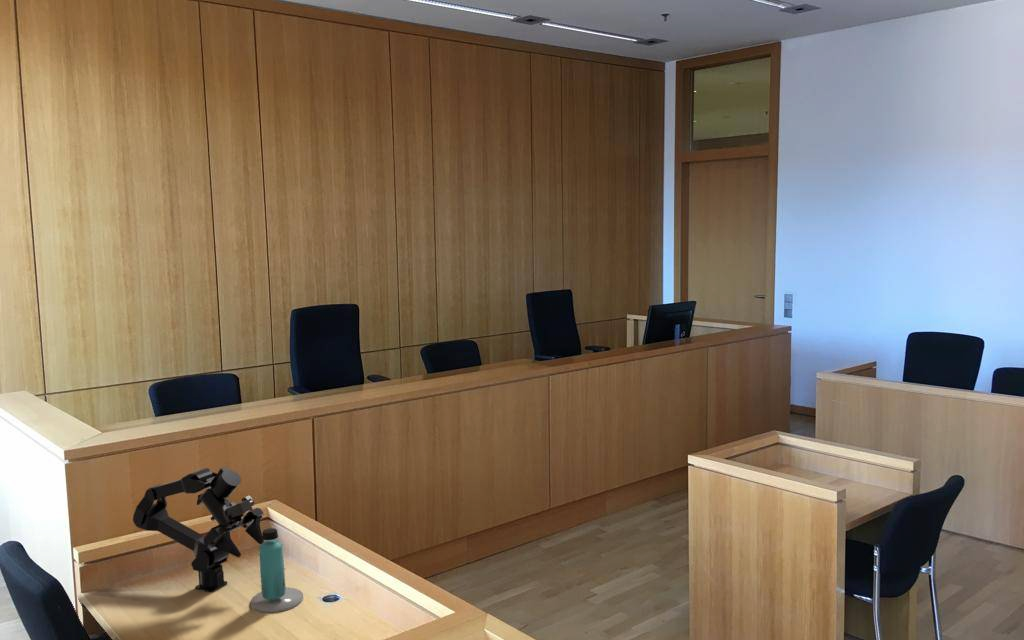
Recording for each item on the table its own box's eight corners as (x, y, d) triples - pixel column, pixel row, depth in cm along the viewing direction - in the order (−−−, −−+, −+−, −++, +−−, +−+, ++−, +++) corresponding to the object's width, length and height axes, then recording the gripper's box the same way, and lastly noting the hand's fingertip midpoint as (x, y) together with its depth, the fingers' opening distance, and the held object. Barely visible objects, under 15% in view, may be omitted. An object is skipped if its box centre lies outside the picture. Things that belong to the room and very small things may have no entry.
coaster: (239, 607, 226) (239, 604, 225) (274, 586, 238) (274, 583, 238) (280, 616, 220) (280, 613, 220) (313, 594, 232) (313, 592, 232)
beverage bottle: (287, 602, 226) (284, 532, 224) (262, 607, 224) (258, 535, 221) (284, 592, 232) (281, 524, 230) (260, 597, 230) (256, 527, 227)
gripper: (209, 500, 223) (242, 545, 219) (257, 480, 239) (289, 522, 236) (188, 524, 227) (221, 569, 224) (237, 503, 244) (268, 544, 240)
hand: (251, 550), depth 231 cm, fingers open, 9 cm apart
